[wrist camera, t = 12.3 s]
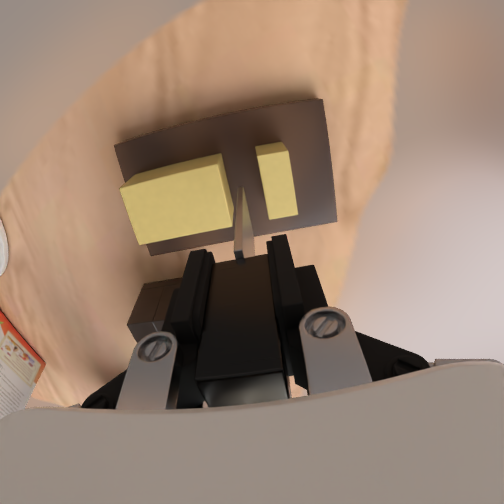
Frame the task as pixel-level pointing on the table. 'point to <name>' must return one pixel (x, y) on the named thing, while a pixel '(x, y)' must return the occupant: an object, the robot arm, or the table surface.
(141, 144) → the board
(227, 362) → the knife
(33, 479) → the robot arm
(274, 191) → the butter pat
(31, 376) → the cracker box
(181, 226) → the butter
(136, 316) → the knife block
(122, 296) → the table surface
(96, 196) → the table surface
